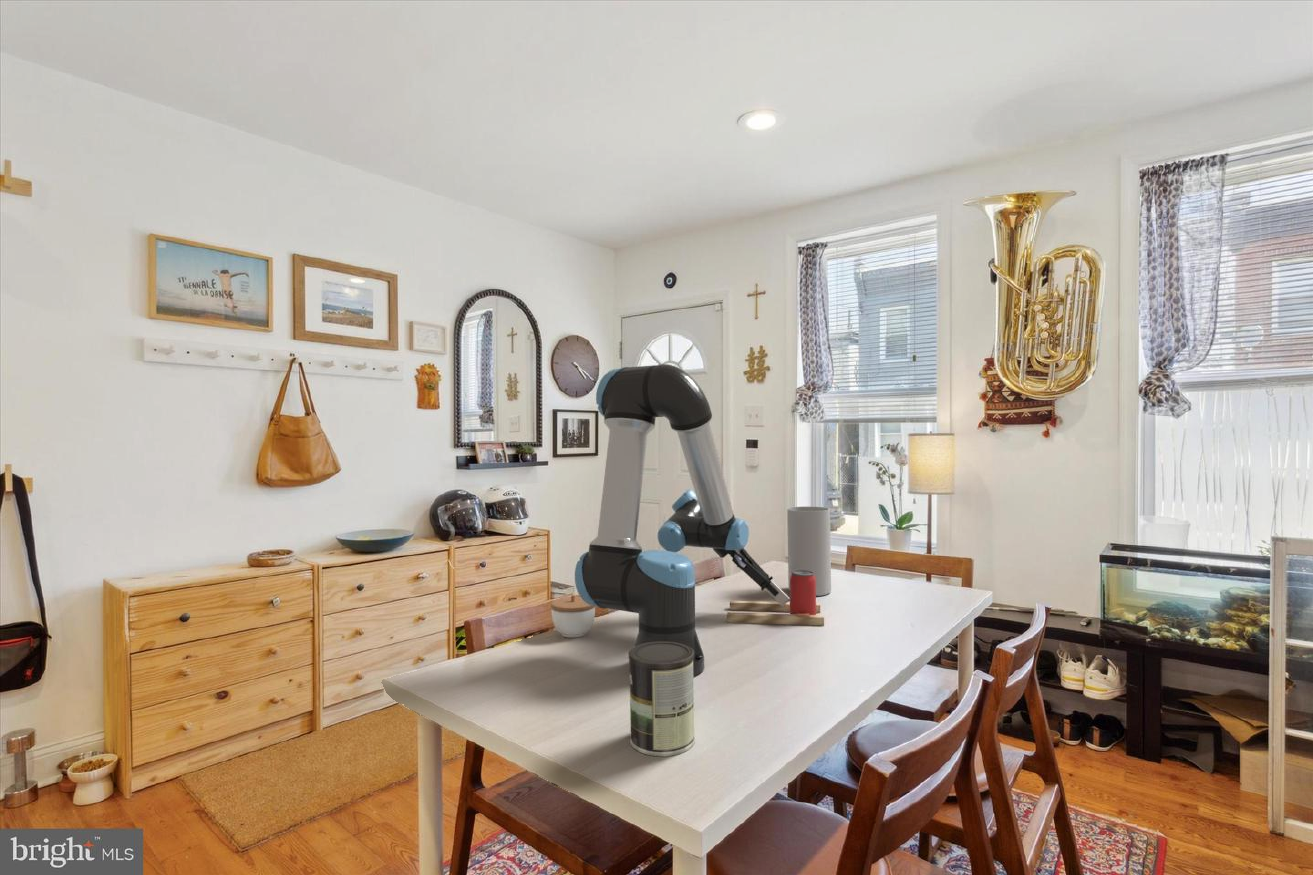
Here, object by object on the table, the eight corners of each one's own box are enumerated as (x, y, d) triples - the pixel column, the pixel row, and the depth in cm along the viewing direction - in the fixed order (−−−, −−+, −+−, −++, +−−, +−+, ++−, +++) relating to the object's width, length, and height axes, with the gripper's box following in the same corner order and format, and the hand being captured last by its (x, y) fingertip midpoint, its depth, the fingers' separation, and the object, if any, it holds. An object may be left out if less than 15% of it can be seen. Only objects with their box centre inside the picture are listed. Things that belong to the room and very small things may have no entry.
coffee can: (620, 752, 97) (619, 659, 97) (641, 722, 107) (640, 638, 107) (686, 761, 94) (684, 665, 94) (701, 729, 104) (700, 643, 104)
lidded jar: (574, 643, 148) (573, 603, 148) (542, 635, 154) (541, 596, 154) (604, 631, 157) (604, 593, 156) (573, 624, 163) (572, 587, 163)
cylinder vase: (815, 599, 184) (813, 512, 184) (780, 591, 193) (778, 509, 193) (839, 591, 192) (838, 508, 192) (804, 584, 201) (803, 505, 201)
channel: (727, 622, 163) (726, 612, 163) (730, 607, 176) (730, 599, 176) (824, 625, 158) (823, 615, 158) (819, 610, 172) (819, 601, 172)
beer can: (821, 619, 163) (821, 573, 163) (802, 624, 160) (802, 576, 160) (803, 613, 169) (803, 568, 169) (784, 617, 166) (784, 571, 166)
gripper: (713, 543, 177) (775, 605, 174) (709, 552, 164) (776, 619, 161) (732, 524, 176) (795, 586, 173) (729, 532, 163) (797, 599, 160)
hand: (786, 602), depth 167 cm, fingers closed
